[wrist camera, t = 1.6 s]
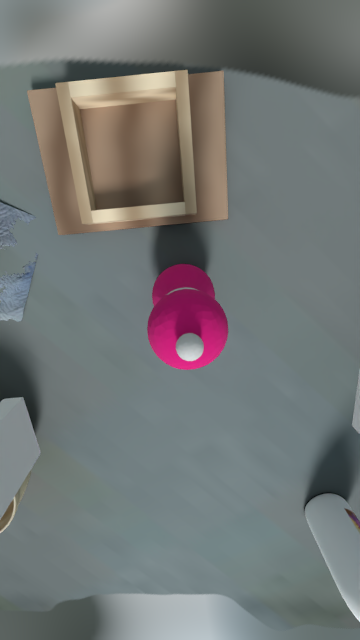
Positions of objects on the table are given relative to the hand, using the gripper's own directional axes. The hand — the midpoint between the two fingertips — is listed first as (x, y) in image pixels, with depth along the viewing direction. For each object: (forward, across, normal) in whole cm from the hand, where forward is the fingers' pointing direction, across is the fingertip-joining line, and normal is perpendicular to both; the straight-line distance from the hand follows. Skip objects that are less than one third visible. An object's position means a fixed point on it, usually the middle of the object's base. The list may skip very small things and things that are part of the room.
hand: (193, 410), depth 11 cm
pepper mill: (+26, 0, 0) cm, 26 cm away
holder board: (+26, +4, -15) cm, 30 cm away
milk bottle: (+26, -22, +42) cm, 54 cm away
